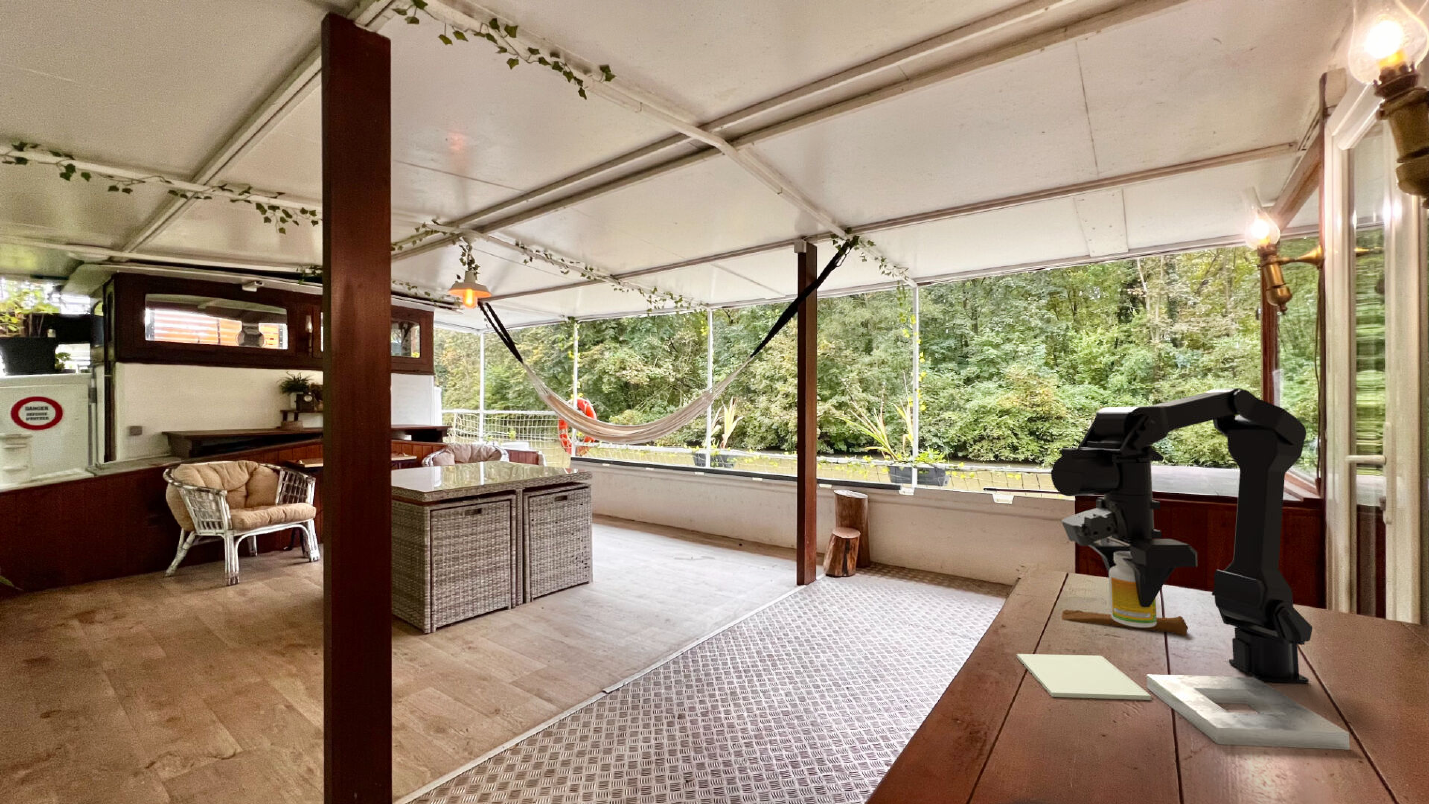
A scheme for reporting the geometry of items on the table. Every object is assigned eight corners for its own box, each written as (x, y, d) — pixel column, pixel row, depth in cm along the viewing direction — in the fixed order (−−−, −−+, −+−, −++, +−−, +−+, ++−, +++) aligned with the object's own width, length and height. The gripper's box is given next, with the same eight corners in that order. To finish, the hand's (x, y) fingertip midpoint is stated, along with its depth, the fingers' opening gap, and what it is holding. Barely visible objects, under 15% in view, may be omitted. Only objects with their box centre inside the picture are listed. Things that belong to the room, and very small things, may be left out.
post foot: (1254, 691, 81) (1253, 677, 81) (1349, 749, 67) (1348, 732, 67) (1147, 688, 83) (1146, 674, 83) (1218, 744, 69) (1217, 727, 69)
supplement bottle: (1163, 630, 78) (1160, 560, 78) (1117, 626, 80) (1114, 557, 80) (1148, 616, 83) (1145, 550, 84) (1105, 613, 85) (1103, 548, 85)
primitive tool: (1061, 621, 110) (1060, 603, 110) (1062, 613, 114) (1061, 595, 114) (1189, 641, 99) (1188, 620, 99) (1185, 630, 104) (1184, 611, 104)
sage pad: (1101, 659, 92) (1101, 655, 92) (1150, 699, 79) (1150, 695, 79) (1017, 657, 94) (1016, 653, 94) (1052, 696, 81) (1051, 692, 81)
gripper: (1039, 485, 92) (1043, 580, 92) (1105, 503, 74) (1110, 623, 73) (1112, 484, 91) (1116, 581, 91) (1197, 502, 73) (1203, 624, 72)
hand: (1132, 600), depth 82 cm, fingers closed on supplement bottle, 5 cm apart
